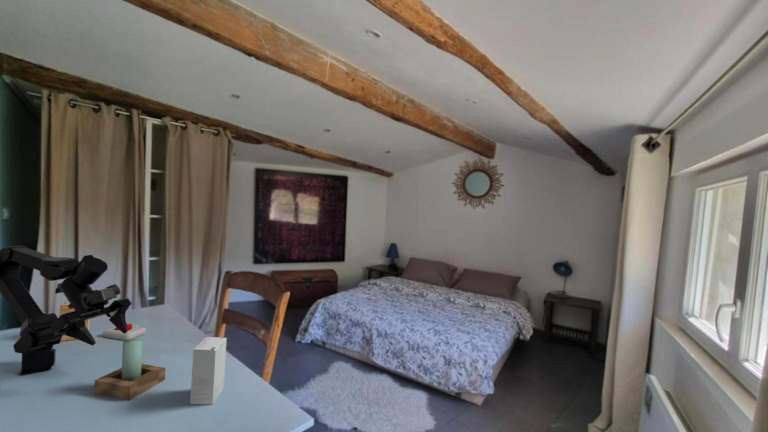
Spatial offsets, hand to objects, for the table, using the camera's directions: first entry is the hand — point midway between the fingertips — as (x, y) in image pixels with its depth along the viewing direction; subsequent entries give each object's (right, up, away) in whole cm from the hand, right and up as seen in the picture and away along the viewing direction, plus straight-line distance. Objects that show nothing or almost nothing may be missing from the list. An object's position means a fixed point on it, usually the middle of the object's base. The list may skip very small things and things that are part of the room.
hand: (110, 338), depth 98 cm
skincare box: (+29, -14, -4) cm, 33 cm away
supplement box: (-36, -10, +28) cm, 47 cm away
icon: (-21, -11, +34) cm, 41 cm away
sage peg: (+7, -13, -1) cm, 15 cm away
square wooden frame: (+7, -13, -1) cm, 15 cm away
